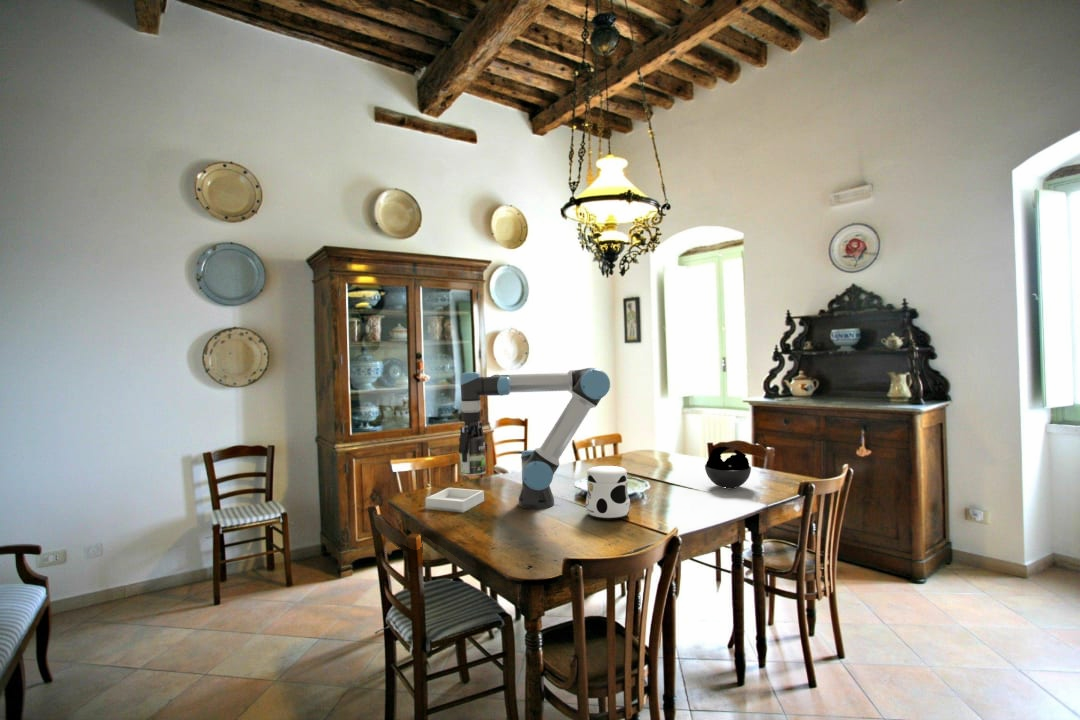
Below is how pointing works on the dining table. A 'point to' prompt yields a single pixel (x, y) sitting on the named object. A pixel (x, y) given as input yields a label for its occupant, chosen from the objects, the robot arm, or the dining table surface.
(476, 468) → the coffee can
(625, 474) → the milk container
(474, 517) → the dining table surface
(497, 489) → the dining table surface
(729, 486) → the coal bowl
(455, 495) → the bin
